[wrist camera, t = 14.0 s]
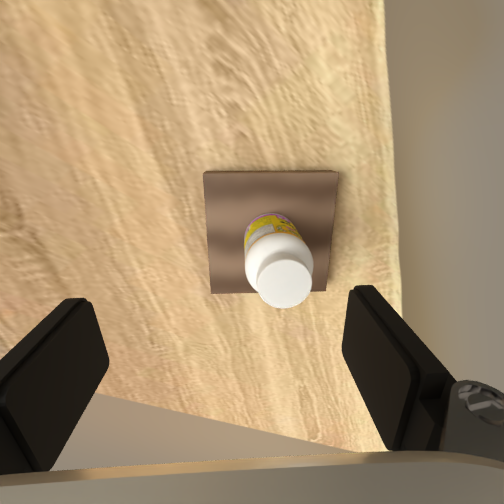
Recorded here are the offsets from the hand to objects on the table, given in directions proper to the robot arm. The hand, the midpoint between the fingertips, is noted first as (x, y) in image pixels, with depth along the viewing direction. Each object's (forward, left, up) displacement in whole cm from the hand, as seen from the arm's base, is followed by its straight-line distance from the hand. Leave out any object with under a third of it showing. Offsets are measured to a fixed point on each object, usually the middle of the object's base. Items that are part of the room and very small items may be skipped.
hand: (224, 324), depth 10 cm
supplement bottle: (+5, +4, -25) cm, 26 cm away
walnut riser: (+5, +4, -28) cm, 28 cm away
